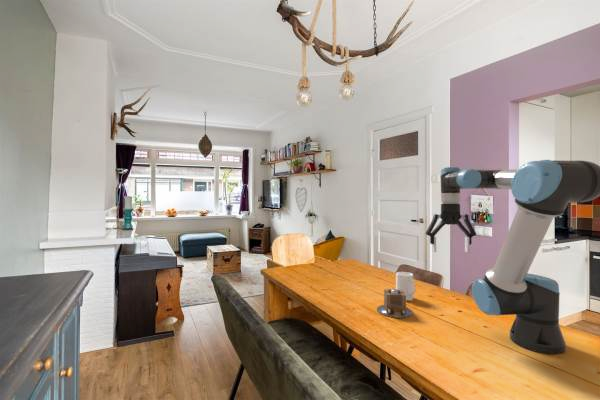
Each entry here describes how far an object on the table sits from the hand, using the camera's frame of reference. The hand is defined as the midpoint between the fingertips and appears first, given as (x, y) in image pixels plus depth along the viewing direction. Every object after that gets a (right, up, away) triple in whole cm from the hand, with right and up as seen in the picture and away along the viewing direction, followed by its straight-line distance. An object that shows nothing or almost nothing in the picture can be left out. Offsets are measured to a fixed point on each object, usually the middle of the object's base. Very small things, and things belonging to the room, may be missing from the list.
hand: (450, 251), depth 134 cm
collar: (-24, -26, -1) cm, 35 cm away
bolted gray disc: (-24, -26, +1) cm, 36 cm away
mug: (-13, -26, +17) cm, 34 cm away
